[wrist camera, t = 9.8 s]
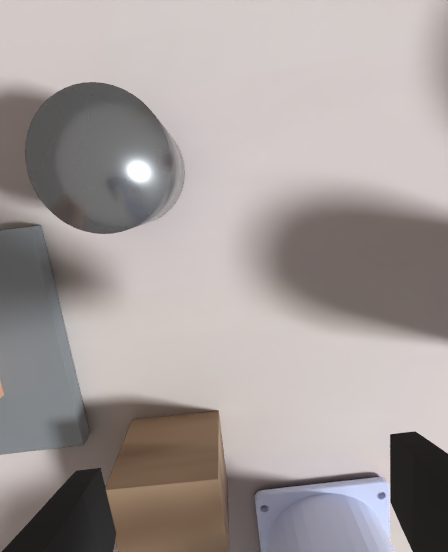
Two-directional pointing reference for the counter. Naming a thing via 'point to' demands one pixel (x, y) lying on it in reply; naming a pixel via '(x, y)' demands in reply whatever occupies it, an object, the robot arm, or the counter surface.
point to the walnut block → (171, 486)
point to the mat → (34, 352)
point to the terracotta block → (1, 391)
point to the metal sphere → (102, 159)
